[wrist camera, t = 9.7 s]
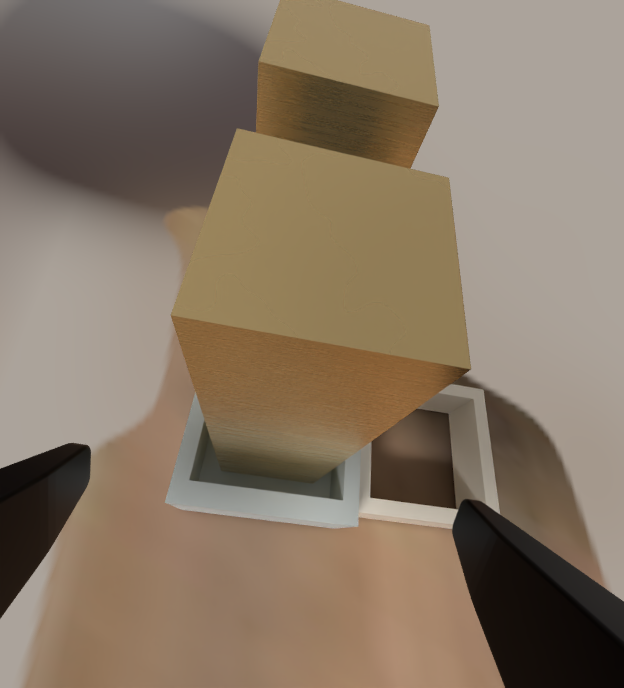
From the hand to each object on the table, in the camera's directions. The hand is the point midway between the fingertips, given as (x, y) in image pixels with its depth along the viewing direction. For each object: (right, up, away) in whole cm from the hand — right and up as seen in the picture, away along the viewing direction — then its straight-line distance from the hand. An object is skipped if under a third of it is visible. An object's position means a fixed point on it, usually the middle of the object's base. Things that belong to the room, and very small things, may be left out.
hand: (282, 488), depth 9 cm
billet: (-1, -1, +8) cm, 8 cm away
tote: (+5, -2, +10) cm, 12 cm away
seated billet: (0, +5, +11) cm, 12 cm away
